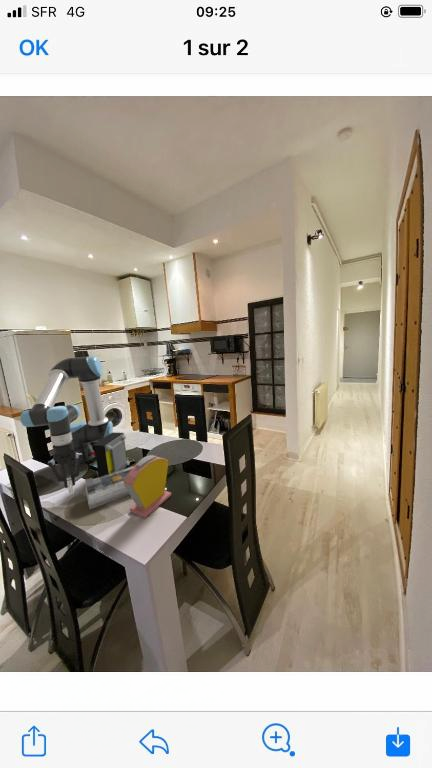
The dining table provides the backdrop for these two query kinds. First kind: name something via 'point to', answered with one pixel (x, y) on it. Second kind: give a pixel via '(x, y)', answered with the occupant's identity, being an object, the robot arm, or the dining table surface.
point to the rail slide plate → (107, 490)
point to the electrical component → (110, 454)
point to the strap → (114, 480)
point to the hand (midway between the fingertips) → (71, 492)
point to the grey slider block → (92, 484)
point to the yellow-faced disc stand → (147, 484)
